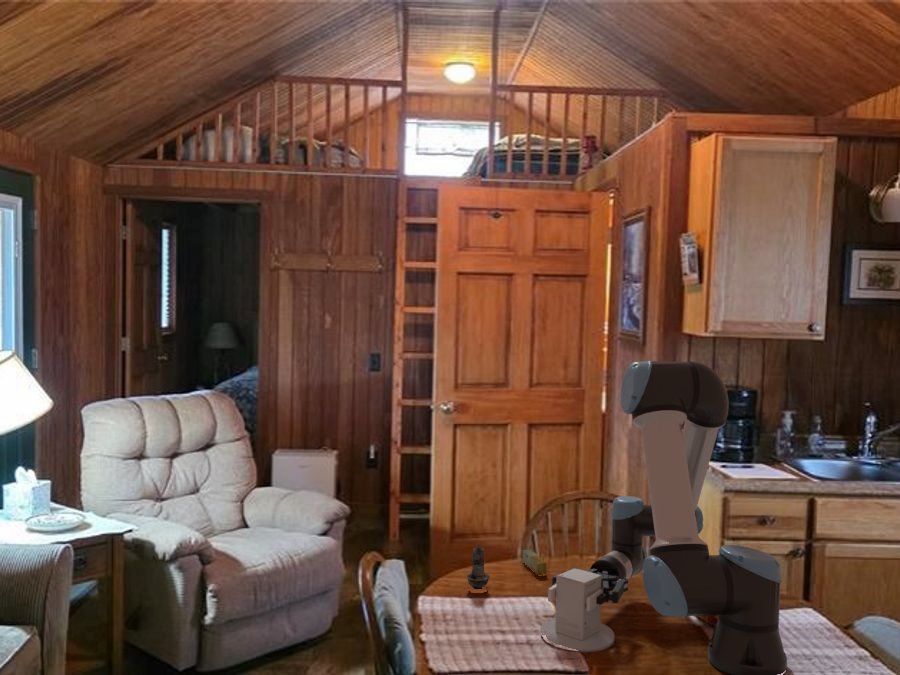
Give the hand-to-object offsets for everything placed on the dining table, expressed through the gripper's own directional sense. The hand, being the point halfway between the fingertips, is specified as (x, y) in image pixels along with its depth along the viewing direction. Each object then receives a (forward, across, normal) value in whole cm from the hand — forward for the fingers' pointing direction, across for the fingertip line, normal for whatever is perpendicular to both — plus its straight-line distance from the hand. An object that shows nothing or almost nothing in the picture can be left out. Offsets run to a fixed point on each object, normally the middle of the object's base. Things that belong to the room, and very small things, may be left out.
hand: (568, 600), depth 170 cm
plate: (-5, 0, -10) cm, 11 cm away
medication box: (-38, +29, -10) cm, 49 cm away
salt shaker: (-15, +32, -10) cm, 37 cm away
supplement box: (-5, 0, -9) cm, 10 cm away
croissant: (-36, -20, -10) cm, 42 cm away
